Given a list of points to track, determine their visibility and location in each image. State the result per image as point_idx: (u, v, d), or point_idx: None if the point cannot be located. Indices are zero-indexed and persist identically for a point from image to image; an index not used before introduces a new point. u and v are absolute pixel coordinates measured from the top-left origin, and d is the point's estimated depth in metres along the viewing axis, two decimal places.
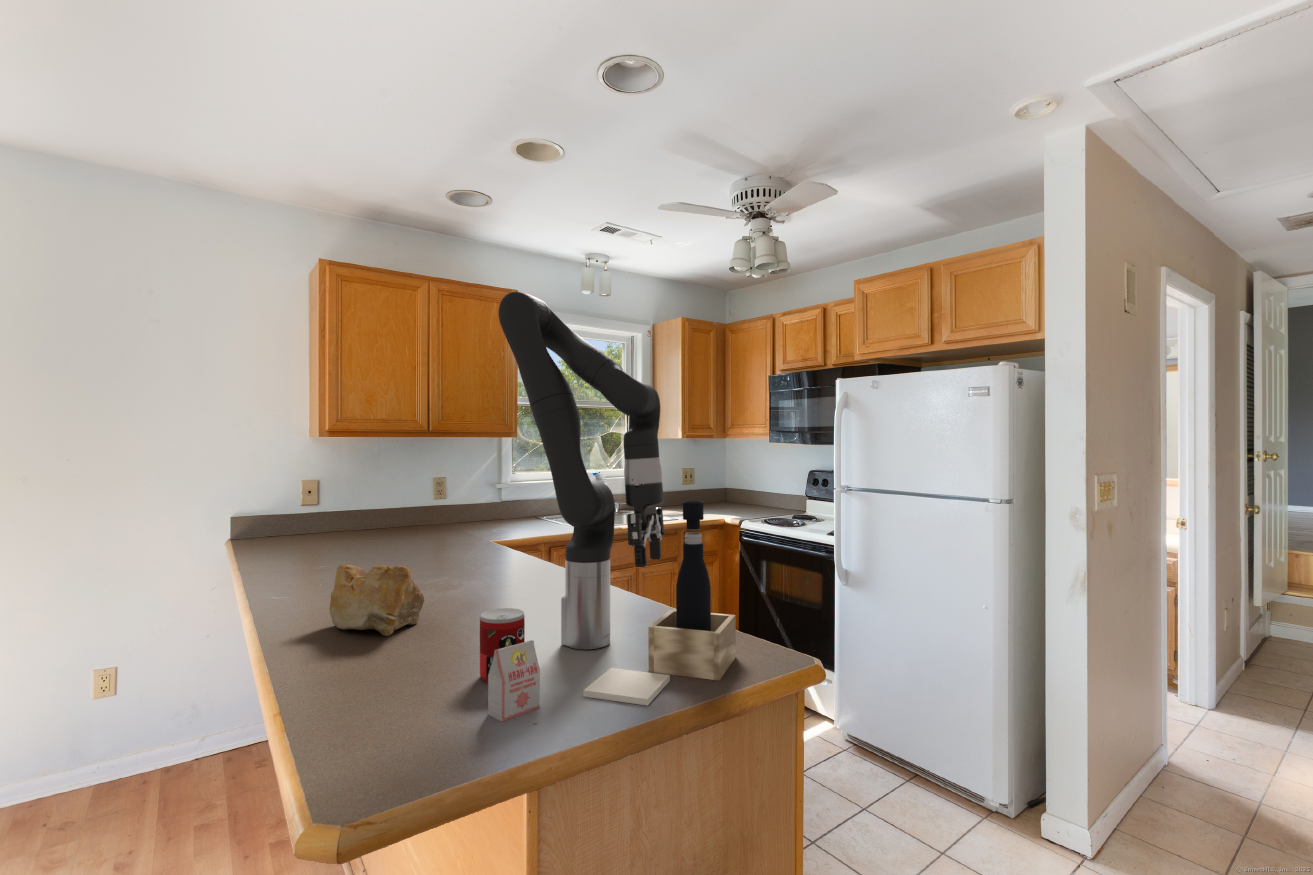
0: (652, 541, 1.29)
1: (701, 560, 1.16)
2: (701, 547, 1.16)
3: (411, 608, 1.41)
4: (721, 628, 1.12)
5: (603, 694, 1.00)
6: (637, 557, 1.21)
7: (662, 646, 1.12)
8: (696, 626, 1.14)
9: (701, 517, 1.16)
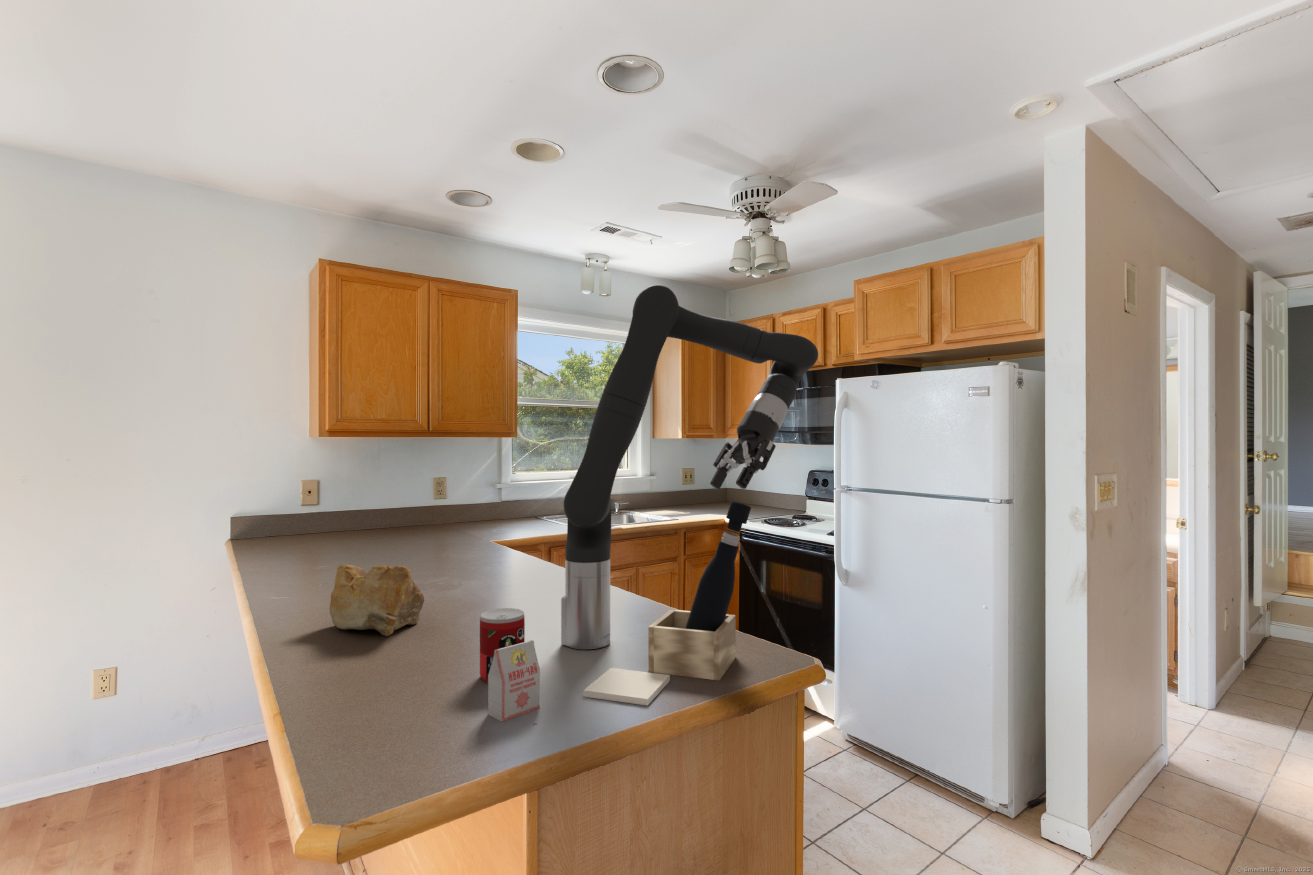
0: (721, 470, 1.27)
1: (732, 562, 1.15)
2: (736, 550, 1.16)
3: (411, 608, 1.41)
4: (721, 628, 1.12)
5: (603, 694, 1.00)
6: (746, 477, 1.18)
7: (662, 646, 1.12)
8: (709, 624, 1.14)
9: (745, 521, 1.16)
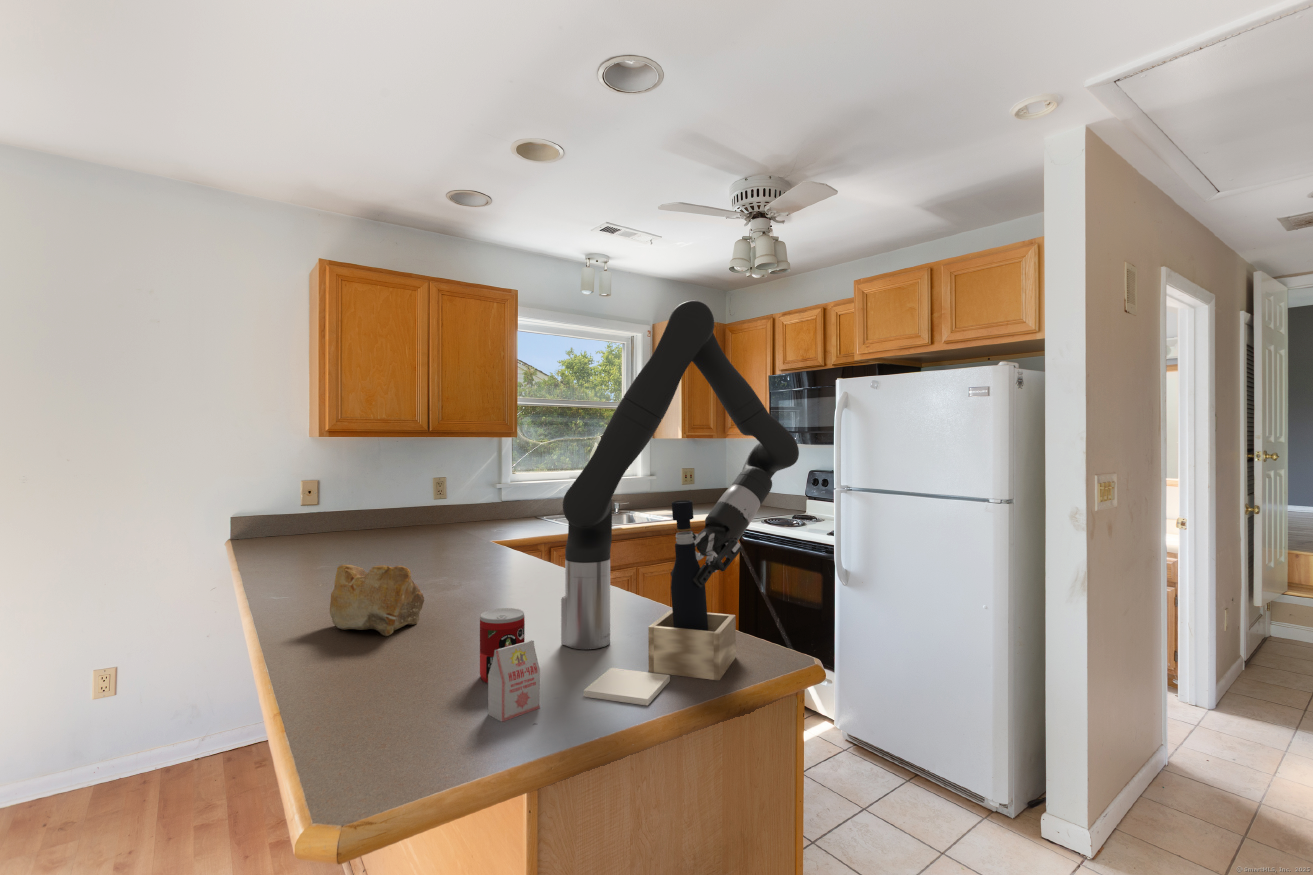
0: None
1: (694, 559, 1.15)
2: (693, 546, 1.15)
3: (411, 608, 1.41)
4: (721, 628, 1.12)
5: (603, 694, 1.00)
6: (705, 576, 1.13)
7: (662, 646, 1.12)
8: (693, 626, 1.13)
9: (691, 516, 1.15)
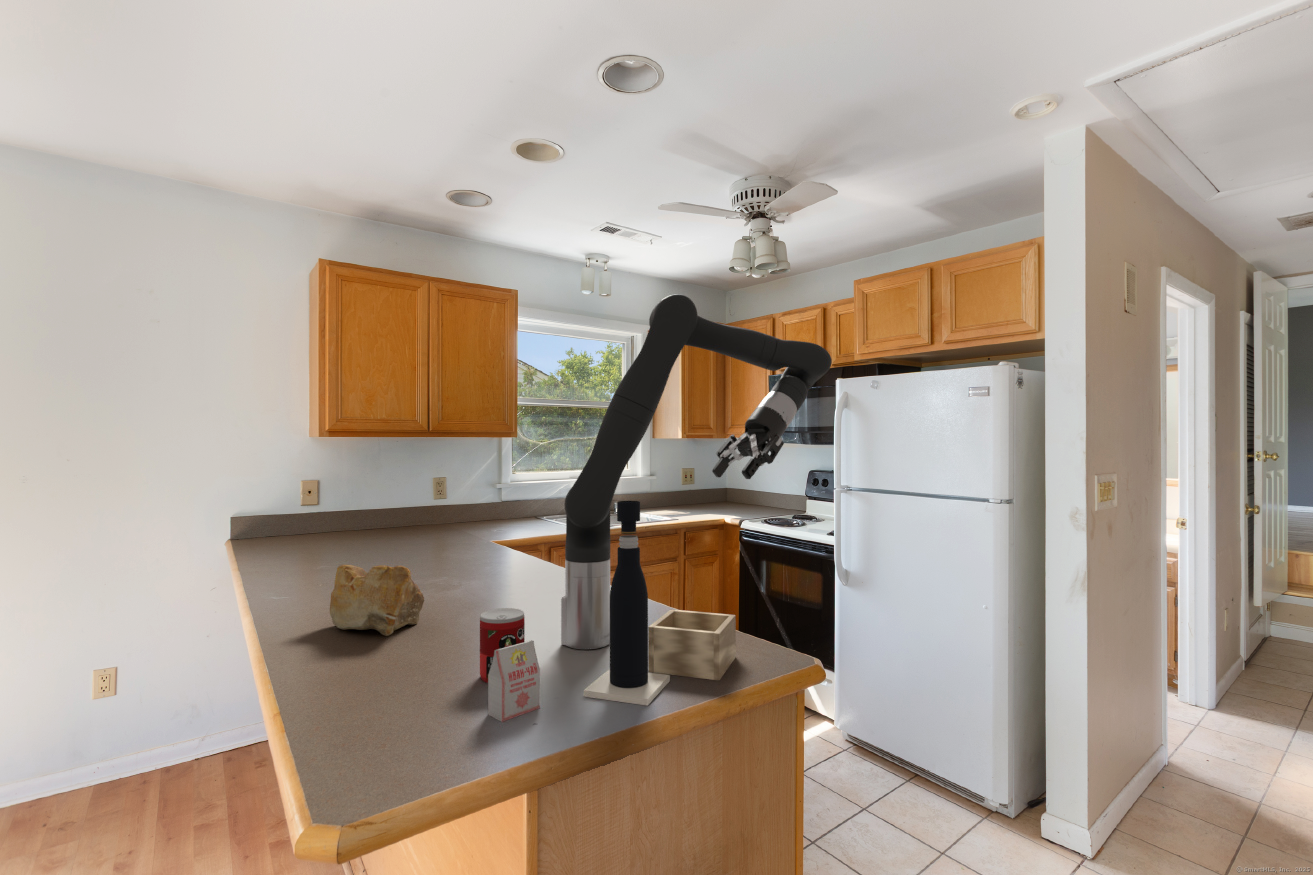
0: (725, 460, 1.28)
1: (637, 566, 1.04)
2: (637, 552, 1.05)
3: (411, 608, 1.41)
4: (721, 628, 1.12)
5: (603, 694, 1.00)
6: (753, 468, 1.19)
7: (662, 646, 1.12)
8: (630, 640, 1.02)
9: (637, 518, 1.05)
